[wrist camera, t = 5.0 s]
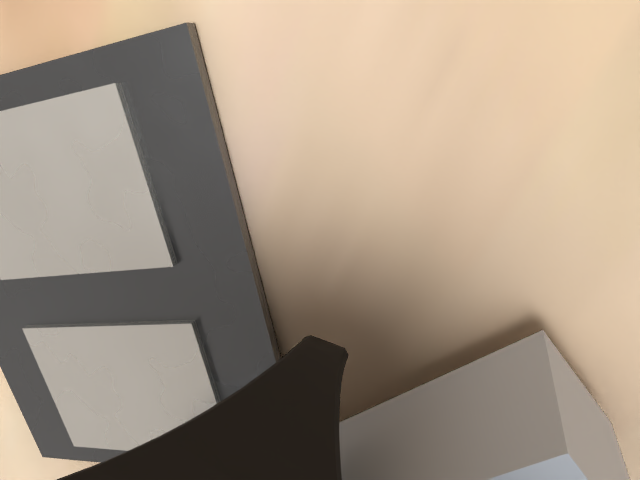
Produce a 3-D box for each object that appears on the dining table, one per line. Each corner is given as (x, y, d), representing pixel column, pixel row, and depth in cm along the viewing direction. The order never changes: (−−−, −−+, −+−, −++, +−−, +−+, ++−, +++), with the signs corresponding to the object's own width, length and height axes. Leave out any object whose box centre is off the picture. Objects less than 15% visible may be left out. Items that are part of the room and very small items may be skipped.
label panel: (310, 473, 14) (305, 487, 14) (49, 450, 17) (38, 460, 17) (194, 23, 10) (181, 22, 10) (-109, 107, 14) (-129, 109, 13)
